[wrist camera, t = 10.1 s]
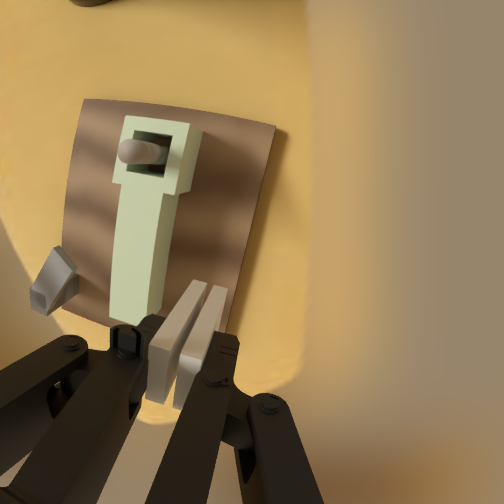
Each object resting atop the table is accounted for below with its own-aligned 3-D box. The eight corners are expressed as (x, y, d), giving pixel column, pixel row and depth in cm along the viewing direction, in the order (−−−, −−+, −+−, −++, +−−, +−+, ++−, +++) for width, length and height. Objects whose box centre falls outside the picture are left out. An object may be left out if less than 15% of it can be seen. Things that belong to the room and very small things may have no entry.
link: (147, 122, 27) (125, 115, 23) (203, 131, 27) (189, 123, 23) (121, 295, 32) (101, 313, 28) (169, 309, 32) (154, 331, 28)
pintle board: (88, 100, 28) (32, 84, 18) (275, 127, 28) (278, 105, 18) (65, 305, 35) (20, 340, 25) (219, 356, 35) (203, 414, 25)
